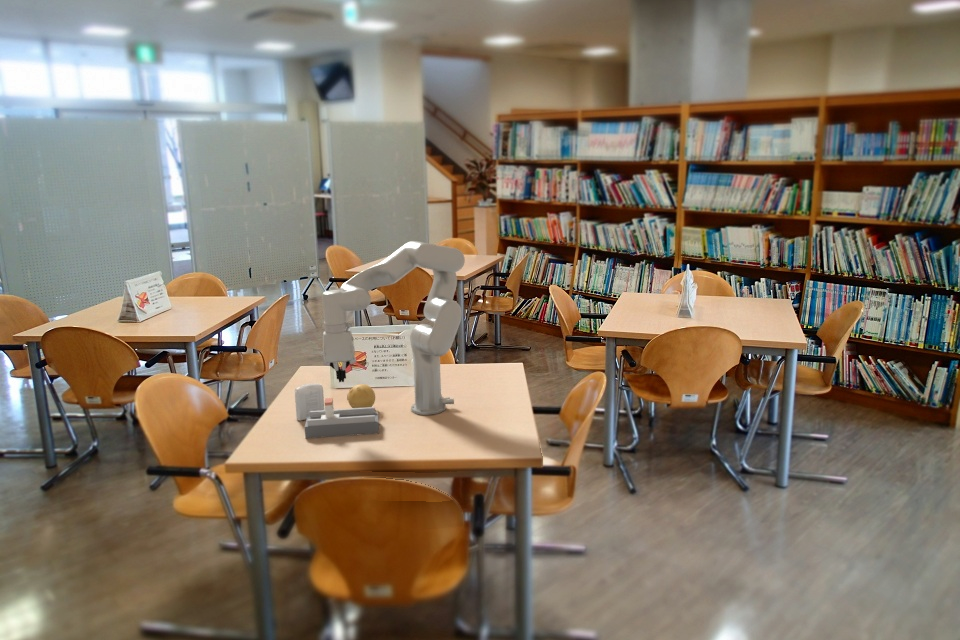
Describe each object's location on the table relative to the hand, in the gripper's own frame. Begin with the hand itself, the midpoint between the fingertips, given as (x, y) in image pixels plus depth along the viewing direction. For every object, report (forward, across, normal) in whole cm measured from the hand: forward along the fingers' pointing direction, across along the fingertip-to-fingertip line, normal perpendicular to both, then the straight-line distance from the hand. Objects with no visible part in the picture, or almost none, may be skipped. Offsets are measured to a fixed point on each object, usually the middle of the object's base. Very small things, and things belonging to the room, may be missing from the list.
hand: (341, 380), depth 242 cm
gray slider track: (+18, +1, +1) cm, 18 cm away
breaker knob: (+13, +5, 0) cm, 14 cm away
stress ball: (+18, -5, -17) cm, 26 cm away
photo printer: (+18, +13, -14) cm, 26 cm away
